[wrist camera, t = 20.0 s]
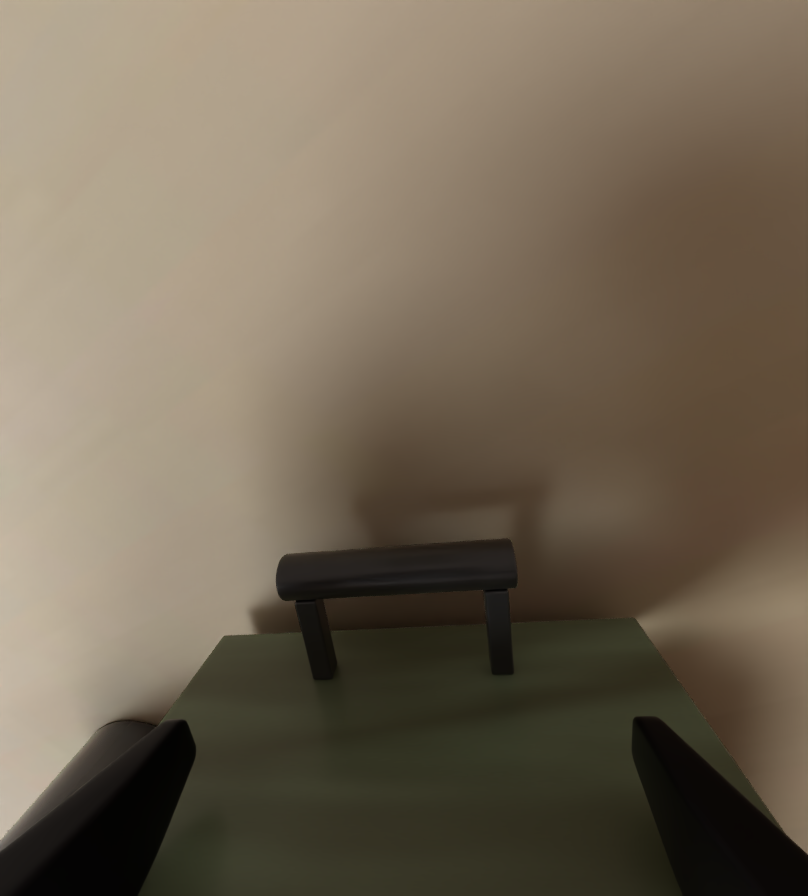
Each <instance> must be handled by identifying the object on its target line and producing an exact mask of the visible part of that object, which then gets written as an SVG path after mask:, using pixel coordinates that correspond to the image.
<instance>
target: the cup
mask: <svg viewBox="0 0 808 896" xmlns="http://www.w3.org/2000/svg"><path fill="white" fill-rule="evenodd" d="M154 728H156V726H153V725H150V724H147V723H143V722H136V721H119V722H114V723H111V724H108V725H106V726H104V727H102V728H100V729H99V730H98V731H96V732H95V733H94V735H93V736H92V737H91V738H90V739H89V740H88V741H87V743H86V744H85V745H84V746H83V747H82V748H81V749H80V750H79V752H78V753H77V754H76V755H75V756H74V757H73V758H72V760H71V761H70V762H69V763H68V764H67V765H66V766H65V767H64V769H63V770H62V771H61V772H60V773H59V774H58V775H57V777H56V778H55V779H54V780H53V781H52V782H51V783H50V784H49V786H48V787H47V788H46V789H45V790H44V791H43V792H42V794H41V795H40V796H39V797H38V798H37V799H36V800H35V801H34V803H33V804H32V805H31V806H30V807H29V808H28V809H27V811H26V812H25V813H24V814H23V815H22V816H21V817H20V818H19V820H18V821H17V822H16V823H15V824H14V825H13V826H12V827H11V829H10V830H9V831H8V832H7V833H6V834H5V835H4V837H3V838H2V839H1V840H0V852H1V851H2V850H3V849H4V848H6V847H7V846H8V845H9V844H11V843H12V842H13V841H14V840H16V839H17V838H18V837H19V836H21V835H22V834H23V833H24V832H26V831H27V830H28V829H29V828H31V827H32V826H33V825H34V824H36V823H37V822H38V821H39V820H41V819H42V818H43V817H44V816H46V815H47V814H48V813H49V812H51V811H52V810H53V809H54V808H56V807H57V806H58V805H59V804H61V803H62V802H63V801H64V800H66V799H67V798H68V797H69V796H71V795H72V794H73V793H74V792H76V791H77V790H78V789H79V788H81V787H82V786H83V785H84V784H86V783H87V782H88V781H89V780H91V779H92V778H93V777H94V776H96V775H97V774H98V773H99V772H101V771H102V770H103V769H104V768H106V767H107V766H108V765H109V764H111V763H112V762H113V761H114V760H116V759H117V758H118V757H119V756H121V755H122V754H123V753H124V752H126V751H127V750H128V749H129V748H131V747H132V746H133V745H134V744H136V743H137V742H138V741H139V740H141V739H142V738H143V737H144V736H146V735H147V734H148V733H149V732H151V731H152V730H153V729H154Z"/></svg>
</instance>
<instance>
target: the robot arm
mask: <svg viewBox="0 0 808 896" xmlns="http://www.w3.org/2000/svg"><path fill="white" fill-rule="evenodd" d="M632 756H633V760H634V763H635V766H636V769H637V772H638V775H639V778H640V781H641V783H642V786H643V789H644V792H645V795H646V797H647V800H648V803H649V806H650V809H651V811H652V814H653V817H654V820H655V823H656V825H657V828H658V831H659V834H660V837H661V840H662V842H663V845H664V848H665V851H666V854H667V856H668V859H669V862H670V865H671V867H672V870H673V873H674V875H675V878H676V880H677V883H678V885H679V887H680V890H681V892H682V895H683V896H808V855H807V854H806V853H805V852H804V851H803V850H802V849H801V848H800V847H799V846H798V845H797V844H796V843H794V842H793V841H792V840H791V839H790V838H789V837H788V836H787V835H786V834H785V833H784V832H783V831H781V830H780V829H779V828H778V827H777V826H776V825H775V824H774V823H773V822H772V821H771V820H770V819H769V818H767V817H766V816H765V815H764V814H763V813H762V812H761V811H760V810H759V809H758V808H757V807H756V806H754V805H753V804H752V803H751V802H750V801H749V800H748V799H747V798H746V797H745V796H744V795H743V794H741V793H740V792H739V791H738V790H737V789H736V788H735V787H734V786H733V785H732V784H731V783H730V782H729V781H727V780H726V779H725V778H724V777H723V776H722V775H721V774H720V773H719V772H718V771H717V770H716V769H714V768H713V767H712V766H711V765H710V764H709V763H708V762H707V761H706V760H705V759H704V758H703V757H701V756H700V755H699V754H698V753H697V752H696V751H695V750H694V749H693V748H692V747H691V746H690V745H689V744H687V743H686V742H685V741H684V740H683V739H682V738H681V737H680V736H679V735H678V734H677V733H676V732H674V731H673V730H672V729H671V728H670V727H669V726H668V725H667V724H666V723H665V722H664V721H662V720H661V719H660V718H658V717H655V716H636V717H635V718H634V719H633V723H632ZM195 757H196V744H195V741H194V739H193V736H192V733H191V730H190V728H189V725H188V723H187V721H186V720H184V719H169V720H165V721H164V722H162V723H161V724H159V725H158V726H157V727H156V728H154V729H153V730H152V731H151V732H149V733H148V734H147V735H146V736H144V737H143V738H142V739H141V740H139V741H138V742H137V743H136V744H134V745H133V746H132V747H131V748H129V749H128V750H127V751H126V752H124V753H123V754H122V755H121V756H119V757H118V758H117V759H116V760H114V761H113V762H112V763H111V764H109V765H108V766H107V767H106V768H104V769H103V770H102V771H101V772H99V773H98V774H97V775H96V776H94V777H93V778H92V779H91V780H89V781H88V782H87V783H86V784H84V785H83V786H82V787H81V788H79V789H78V790H77V791H76V792H74V793H73V794H72V795H71V796H69V797H68V798H67V799H66V800H64V801H63V802H62V803H61V804H59V805H58V806H57V807H56V808H54V809H53V810H52V811H51V812H49V813H48V814H47V815H46V816H44V817H43V818H42V819H41V820H39V821H38V822H37V823H36V824H34V825H33V826H32V827H31V828H29V829H28V830H27V831H26V832H24V833H23V834H22V835H21V836H19V837H18V838H17V839H16V840H14V841H13V842H12V843H11V844H9V845H8V846H7V847H6V848H4V849H3V850H2V851H1V852H0V896H138V894H139V892H140V890H141V888H142V886H143V884H144V882H145V879H146V877H147V875H148V873H149V871H150V869H151V867H152V864H153V862H154V860H155V858H156V856H157V853H158V851H159V849H160V846H161V844H162V841H163V839H164V837H165V834H166V832H167V829H168V827H169V824H170V822H171V819H172V816H173V814H174V811H175V809H176V806H177V804H178V801H179V799H180V796H181V794H182V791H183V789H184V786H185V784H186V781H187V779H188V776H189V774H190V771H191V769H192V766H193V763H194V761H195Z"/></svg>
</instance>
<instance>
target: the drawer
mask: <svg viewBox="0 0 808 896" xmlns="http://www.w3.org/2000/svg"><path fill="white" fill-rule="evenodd" d="M517 585H518V574H517V565H516V558H515V553H514V548H513V544H512V542H511V540H510V539H509V538H502V539H488V540H474V541H460V542H447V543H433V544H419V545H405V546H391V547H377V548H364V549H350V550H336V551H322V552H308V553H294V554H286V555H284V556H283V557H282V558H281V560H280V562H279V564H278V568H277V573H276V586H277V591H278V594H279V596H280V598H281V599H282V600H284V601H295V600H296V602H295V607H296V611H297V615H298V619H299V623H300V627H301V631H302V632H297V633H275V634H252V635H230V636H224V637H223V638H222V639H221V640H220V642H219V643H218V645H217V646H216V647H215V649H214V650H213V651H212V653H211V654H210V655H209V657H208V658H207V660H206V661H205V662H204V664H203V665H202V666H201V668H200V669H199V670H198V672H197V673H196V674H195V676H194V677H193V679H192V680H191V681H190V683H189V684H188V685H187V687H186V688H185V689H184V691H183V692H182V693H181V695H180V696H179V698H178V699H177V700H176V702H175V703H174V704H173V706H172V707H171V708H170V710H169V711H168V712H167V714H166V715H165V717H164V718H163V719H162V721H161V722H160V723H159V724H161V723H162V722H164V721H165V720H169V719H184V720H186V721H187V723H188V725H189V728H190V730H191V733H192V736H193V739H194V741H195V744H196V757H195V761H194V763H193V766H192V769H191V771H190V774H189V776H188V779H187V781H186V784H185V786H184V789H183V791H182V794H181V796H180V799H179V801H178V804H177V806H176V809H175V811H174V814H173V816H172V819H171V822H170V824H169V827H168V829H167V832H166V834H165V837H164V839H163V841H162V844H161V846H160V849H159V851H158V853H157V856H156V858H155V860H154V862H153V864H152V867H151V869H150V871H149V873H148V875H147V877H146V879H145V882H144V884H143V886H142V888H141V890H140V892H139V894H138V896H683V895H682V892H681V890H680V887H679V885H678V883H677V880H676V878H675V875H674V873H673V870H672V867H671V865H670V862H669V859H668V856H667V854H666V851H665V848H664V845H663V842H662V840H661V837H660V834H659V831H658V828H657V825H656V823H655V820H654V817H653V814H652V811H651V809H650V806H649V803H648V800H647V797H646V795H645V792H644V789H643V786H642V783H641V781H640V778H639V775H638V772H637V769H636V766H635V763H634V760H633V756H632V723H633V719H634V718H635V717H636V716H655V717H658V718H660V719H661V720H662V721H664V722H665V723H666V724H667V725H668V726H669V727H670V728H671V729H672V730H673V731H674V732H676V733H677V734H678V735H679V736H680V737H681V738H682V739H683V740H684V741H685V742H686V743H687V744H689V745H690V746H691V747H692V748H693V749H694V750H695V751H696V752H697V753H698V754H699V755H700V756H701V757H703V758H704V759H705V760H706V761H707V762H708V763H709V764H710V765H711V766H712V767H713V768H714V769H716V770H717V771H718V772H719V773H720V774H721V775H722V776H723V777H724V778H725V779H726V780H727V781H729V782H730V783H731V784H732V785H733V786H734V787H735V788H736V789H737V790H738V791H739V792H740V793H741V794H743V795H744V796H745V797H746V798H747V799H748V800H749V801H750V802H751V803H752V804H753V805H754V806H756V807H757V808H758V809H759V810H760V811H761V812H762V813H763V814H764V815H765V816H766V817H767V818H769V819H770V820H771V821H772V822H773V823H774V824H775V825H776V826H777V827H778V828H779V829H780V830H781V831H783V830H782V828H781V827H780V825H779V824H778V822H777V821H776V820H775V818H774V817H773V815H772V814H771V812H770V811H769V809H768V808H767V807H766V805H765V804H764V802H763V801H762V799H761V798H760V797H759V795H758V794H757V792H756V791H755V789H754V788H753V787H752V785H751V784H750V782H749V781H748V779H747V778H746V777H745V775H744V774H743V772H742V771H741V769H740V768H739V767H738V765H737V764H736V762H735V761H734V759H733V758H732V756H731V755H730V754H729V752H728V751H727V749H726V748H725V746H724V745H723V744H722V742H721V741H720V739H719V738H718V736H717V735H716V734H715V732H714V731H713V729H712V728H711V726H710V725H709V724H708V722H707V721H706V719H705V718H704V716H703V715H702V714H701V712H700V711H699V709H698V708H697V706H696V705H695V703H694V702H693V701H692V699H691V698H690V696H689V695H688V693H687V692H686V691H685V689H684V688H683V686H682V685H681V683H680V682H679V681H678V679H677V678H676V676H675V675H674V673H673V672H672V671H671V669H670V668H669V666H668V665H667V663H666V662H665V660H664V659H663V658H662V656H661V655H660V653H659V652H658V650H657V649H656V648H655V646H654V645H653V643H652V642H651V640H650V639H649V638H648V636H647V635H646V633H645V632H644V630H643V629H642V628H641V626H640V625H639V623H638V622H637V620H636V619H635V618H613V619H590V620H568V621H545V622H523V623H511V621H510V607H509V593H508V589H511V588H516V587H517ZM475 590H483V597H484V608H485V618H486V624H478V625H455V626H433V627H410V628H388V629H365V630H343V631H330V627H329V623H328V618H327V614H326V609H325V605H324V600H323V599H331V598H349V597H367V596H385V595H403V594H421V593H439V592H457V591H475ZM783 832H784V831H783ZM784 833H785V832H784Z"/></svg>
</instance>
